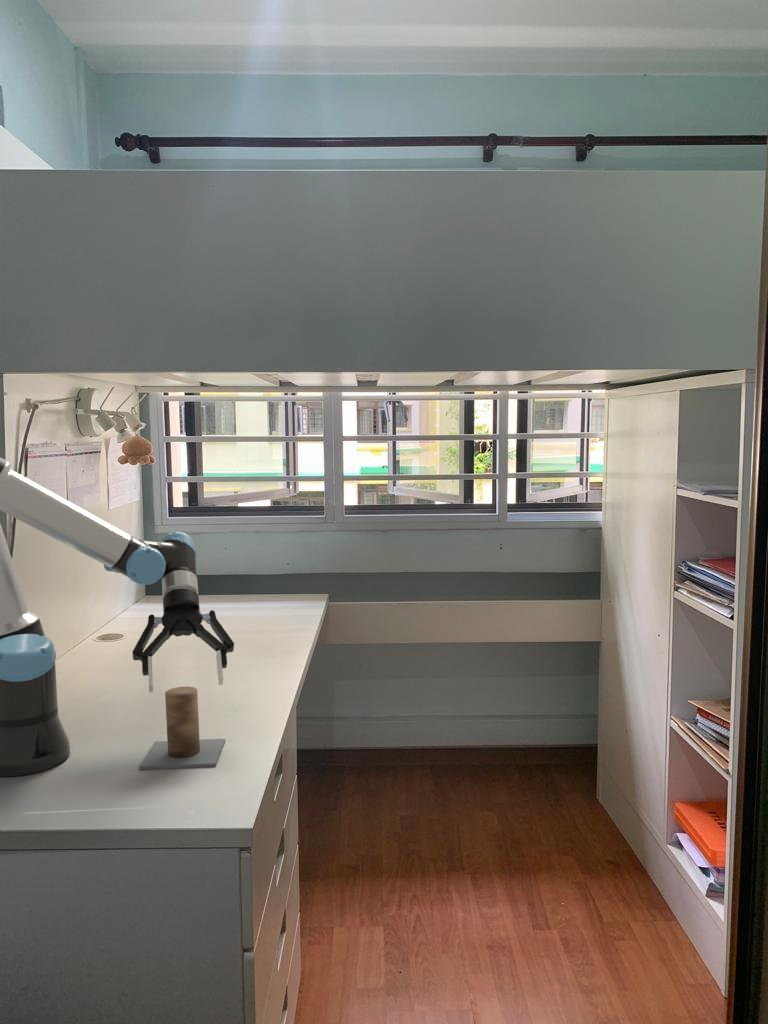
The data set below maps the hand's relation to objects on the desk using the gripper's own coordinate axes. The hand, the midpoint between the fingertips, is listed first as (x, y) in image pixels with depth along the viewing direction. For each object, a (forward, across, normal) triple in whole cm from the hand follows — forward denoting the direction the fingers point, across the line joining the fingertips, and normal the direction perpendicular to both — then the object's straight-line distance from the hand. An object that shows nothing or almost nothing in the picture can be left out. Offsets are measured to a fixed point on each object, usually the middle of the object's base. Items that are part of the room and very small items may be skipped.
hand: (186, 685), depth 153 cm
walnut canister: (+12, +1, -4) cm, 13 cm away
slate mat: (+12, +1, -4) cm, 13 cm away
